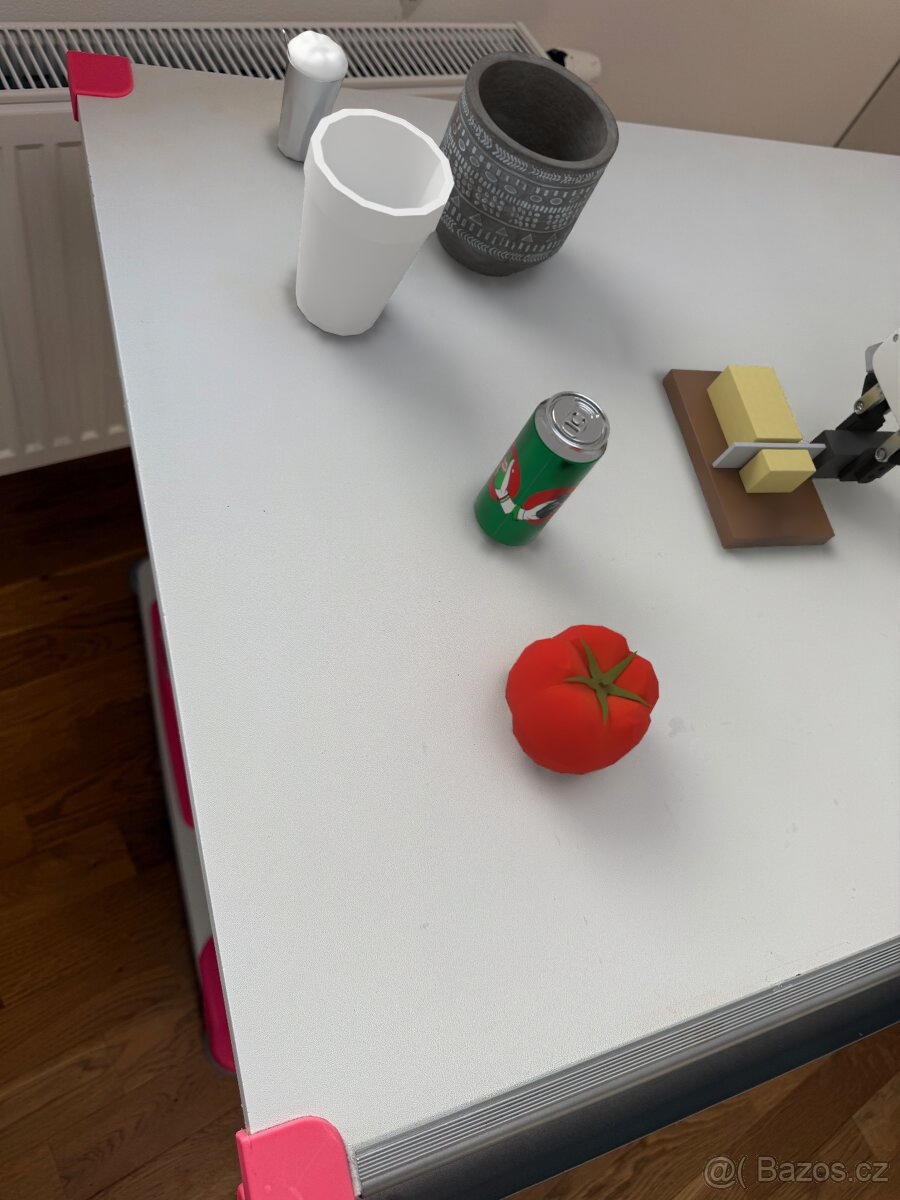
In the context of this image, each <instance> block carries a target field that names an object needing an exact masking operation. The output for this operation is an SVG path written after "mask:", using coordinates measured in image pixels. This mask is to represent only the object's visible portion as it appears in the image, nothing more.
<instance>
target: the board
mask: <svg viewBox="0 0 900 1200" xmlns="http://www.w3.org/2000/svg"><path fill="white" fill-rule="evenodd" d="M722 372H723V370H722V371H721V370H699V369H684V368H683V369H681V368H679V369H678V368H670V370H669V371H668V372H667V374H666V375H664V377H663V378H662V381H661V382H662V384H663V387H664V389H665V392H666V395H667V398H668V400H669V403H670V405H671V408H672V411H673V414H674V416H675V419H676V422H677V424H678V427H679V431H680V433H681V437H682V439H683V441H684V444H685V446H686V449H687V452H688V455H689V457H690V461H691V463H692V466H693V469H694V471H695V474H696V477H697V479H698V483H699V484H700V488H701V490H702V493H703V496H704V498H705V501H706V504H707V506H708V510H709V512H710V515H711V518H712V521H713V523H714V526H715V528H716V532H717V533H718V537H719V540H720V542H721V545H722V548H723V549H738V548H740V549H741V548H761V547H762V548H763V547H765V548H766V547H787V546H788V547H789V546H812V545H813V546H815V545H816V546H817V545H825V544H826V543H827V542H828V541H830V540H831V539H833V538H834V537H835V536H836V533H835V531H834V529H833V526H832V524H831V522H830V519H829V517H828V514H827V511H826V509H825V506H824V504H823V502H822V500H821V498H820V495H819V492H818V490H817V488H816V486H815V483H814V481H813V479H806V480H805V481H804V482H803V483H802V484H800V485H799V486H798V487H797V488H796V489H794V490H793V491H792V492H779V493H747V492H746V490H745V487H744V485H743V482H742V480H741V477H740V474H739V471H740V470H741V469H742V468H714V467H713V465H712V464H713V463H714V462H715V461H716V460H717V459H718V458H719V457H720V456H721V455H722V454H723V453H724V452H725V451H726V450H727V449H728V448H729V446H728V444H727V441H726V439H725V436H724V434H723V431H722V428H721V426H720V423H719V421H718V418H717V415H716V413H715V410H714V408H713V405H712V402H711V400H710V397H709V395H708V392H707V388H708V387H709V386H710V385H711V384H712V383H713V382H714V381H715V379H716V378H717V377H718V376H719V375H720V374H721V373H722Z"/></svg>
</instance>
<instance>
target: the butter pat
mask: <svg viewBox="0 0 900 1200" xmlns="http://www.w3.org/2000/svg"><path fill="white" fill-rule="evenodd" d="M814 472H816V469H815V466H814V464H813V462H812V459H811V457H810V455H809V452H808V450H775V449H763V450H761V451H760V452H759V453H758V454H757V455H756V456H755V457H754V458H753V459H752V460H751V461H750V462H748V463H747V464H746V465H745V466H744V467H743V468H742V469H741V470H740V471H739V474H740V477H741V480H742V482H743V485H744V487H745V490H746V492H747V493H779V492H792V491H793V490H794V489H796V488H797V487H798V486H799V485H800V484H802V483H803V482H804V481H805V480H806V479H807V478H809V477H810V476H811V475H812V474H813V473H814Z"/></svg>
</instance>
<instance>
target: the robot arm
mask: <svg viewBox="0 0 900 1200" xmlns="http://www.w3.org/2000/svg"><path fill="white" fill-rule="evenodd" d="M864 360H865V361H864V362H865V373H866V375H865V377H864V381H863V385H862V389H861V390H862V391H861V395H860V397H859V398H858V399H856V400H855V401H854V405H853V412H852V413H851V414H850V415H849V416H847V417H846V418H845V419H844V420H843V421H842V422H841V423H840V424H839V425H838V426H836V427H835V429H834V430H849V431H879V430H880V429H881V428H882V427H883V426H884V424H885V423H886V422H887V420H886V418H885V416H886V415H888V414H889V413H890V412H891V413H892V414H893V417H894V419H895V421H896V423H897V425H898V428H899V429H897V430H896V431H894V432H895V433H894V434H893V435H892V436H891V437H890V438H888V439H887V440H886V441H885V442H884V443H883V444H882V445H881V446H879V447H878V448H868V449H866V450H865V451H863V452H862V453H861V454H860V455H859V456H858V457H857V458H856V459H855V460H853V461H852V462H851V463H850V464H849V465H847V466H846V467H845V468H844V469H843V470H841V471H840V472H839V473H838V475H837V476H838V478H839V479H838V481H839V482H840V483H841V482H842V483H847V482H848V483H849V482H850V483H851V482H852V483H853V482H856V483H857V484H860V485H861V484H862V485H865V484H869V483H872V482H873V481H875V480H876V478H877V477H879V476H880V475H881V474H883V473H884V472H885V471H886V470H888V469H889V468H890V467H892V466H893V465H894V464H895V465H896V466H899V467H900V326H899V327H898V328H897V329H895V331H893V332H892V333H891V334H890V335H889V336H888V337H886V339H885V340H883V341H881V342H878V343H875V344H872V345H869V346H868V347H867V348H866V349H865V351H864Z"/></svg>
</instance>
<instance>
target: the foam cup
mask: <svg viewBox="0 0 900 1200" xmlns="http://www.w3.org/2000/svg"><path fill="white" fill-rule="evenodd" d="M303 174H304V190H303V200H302V201H303V202H302V212H301V222H300V223H301V225H300V233H299V234H300V235H299V243H298V244H299V245H298V257H297V266H296V276H295V277H296V278H295V298H296V299H295V300H296V304H297V307H298V309H299V311H300V312H301V313H302V315H303V316H304V317H305V319H306V320H307V322H310V323H311V324H313V325H314V326H316V327H317V328H318V329H320V330H321V331H323V332H326V333H330V334H333V335H337V336H341V337H346V336H356V335H362V334H363V333H364V332H366V331H368V330H369V329H371V328H372V327H373V326H374V324H375V323H376V322H377V320H378V319H379V317H380V315H381V314H382V312H383V311H384V309H385V307H386V306H387V304H388V302H389V301H390V299H391V298H392V296H393V294H394V292H395V291H396V289H397V287H398V286H399V284H400V282H401V281H402V280H403V278H404V276H405V274H406V273H407V271H408V270H409V268H410V266H411V265H412V263H413V262H414V260H415V258H416V257H417V255H418V254H419V252H420V249H421V248H422V246H423V245H424V243H425V242H426V241H427V238H428V237H429V235H430V234H432V233H433V232H436V227H437V224H438V222H439V219H440V217H441V215H442V212H443V210H444V207H445V205H446V203H447V200H448V198H449V195H450V193H451V190H452V188H453V185H454V180H453V176H452V172H451V168H450V164H449V160H448V159H447V157H446V156H445V155H444V154H443V152H442V151H441V150H440V149H439V146H438V144H437V143H436V142H435V141H434V139H433V138H432V137H431V136H429V135H428V134H427V133H425V132H423V131H422V130H420V129H419V128H418V127H417V126H415V125H413V124H412V123H410V122H409V121H407V120H406V119H404V118H401V117H398V116H395V115H392V114H389V113H386V112H383V111H380V110H377V109H374V108H343V109H340V110H338V111H335V112H334V113H331V115H329V116H326V117H324V118H322V119H321V120H320V122H319V124H318V126H317V128H316V129H315V131H314V133H313V135H312V137H311V139H310V143H309V147H308V151H307V155H306V159H305V161H304V163H303Z"/></svg>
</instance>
